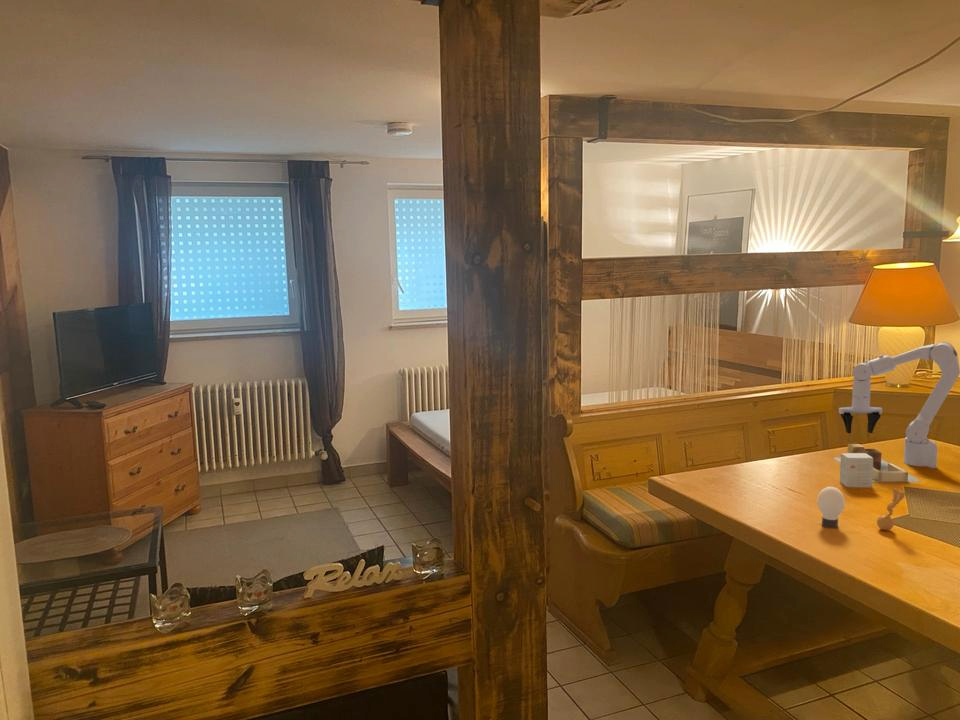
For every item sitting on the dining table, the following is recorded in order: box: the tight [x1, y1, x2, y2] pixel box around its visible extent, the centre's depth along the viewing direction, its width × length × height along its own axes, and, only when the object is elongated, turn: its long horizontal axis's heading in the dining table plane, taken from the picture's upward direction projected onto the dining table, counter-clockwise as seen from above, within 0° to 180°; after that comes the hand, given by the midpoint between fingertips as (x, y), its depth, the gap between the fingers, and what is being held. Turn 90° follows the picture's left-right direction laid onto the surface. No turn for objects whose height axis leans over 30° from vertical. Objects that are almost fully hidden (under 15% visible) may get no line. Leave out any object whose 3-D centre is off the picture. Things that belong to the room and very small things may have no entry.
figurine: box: [876, 488, 905, 531], centre depth 190 cm, size 8×6×12 cm
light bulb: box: [817, 486, 846, 528], centre depth 195 cm, size 7×7×11 cm
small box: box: [839, 452, 873, 488], centre depth 226 cm, size 8×6×10 cm
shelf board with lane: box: [833, 457, 922, 483], centre depth 242 cm, size 16×28×4 cm, turn 177°
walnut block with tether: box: [846, 443, 882, 470], centre depth 249 cm, size 5×15×6 cm, turn 177°
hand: (859, 432), depth 257 cm, fingers open, 7 cm apart
